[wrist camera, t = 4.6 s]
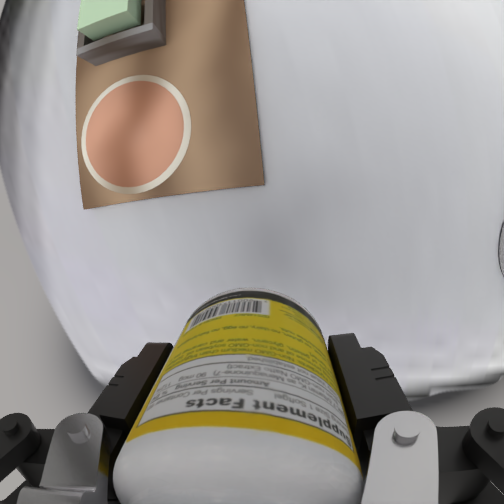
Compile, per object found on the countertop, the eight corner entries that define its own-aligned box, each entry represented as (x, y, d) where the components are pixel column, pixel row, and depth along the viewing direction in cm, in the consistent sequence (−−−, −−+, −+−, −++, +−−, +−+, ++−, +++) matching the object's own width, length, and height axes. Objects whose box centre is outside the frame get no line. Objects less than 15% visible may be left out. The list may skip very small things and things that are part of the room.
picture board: (240, -30, 16) (235, -57, 13) (264, 184, 21) (264, 186, 17) (87, 10, 17) (65, -7, 14) (90, 208, 22) (61, 215, 18)
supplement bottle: (272, 417, 11) (264, 621, 2) (162, 361, 10) (58, 566, 2) (352, 328, 9) (449, 576, 1) (227, 253, 9) (79, 557, 1)
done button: (142, -13, 14) (130, -28, 12) (140, 24, 15) (127, 10, 13) (97, 3, 15) (82, -9, 12) (93, 40, 15) (77, 29, 13)
